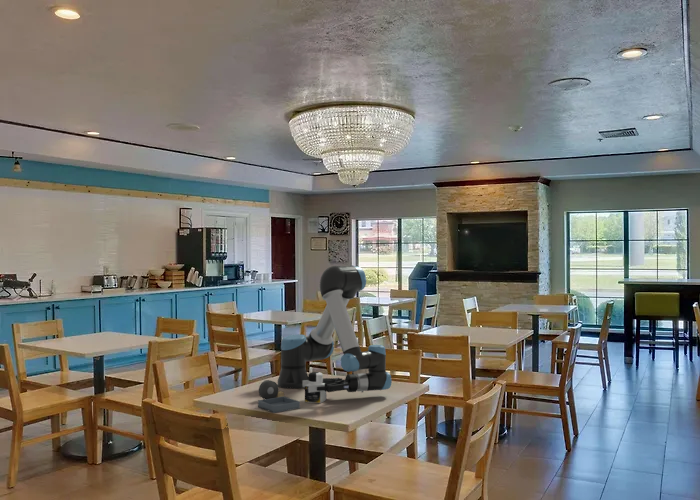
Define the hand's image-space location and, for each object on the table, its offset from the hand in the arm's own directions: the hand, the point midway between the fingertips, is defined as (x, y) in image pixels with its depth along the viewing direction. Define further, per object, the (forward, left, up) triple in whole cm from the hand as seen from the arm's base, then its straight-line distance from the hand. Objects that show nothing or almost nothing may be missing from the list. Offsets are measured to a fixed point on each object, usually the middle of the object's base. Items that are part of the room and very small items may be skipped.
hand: (305, 386), depth 255 cm
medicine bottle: (+1, +4, -7) cm, 8 cm away
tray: (+1, -14, -7) cm, 15 cm away
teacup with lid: (-24, +48, -7) cm, 54 cm away
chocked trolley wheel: (-14, -9, -6) cm, 17 cm away
